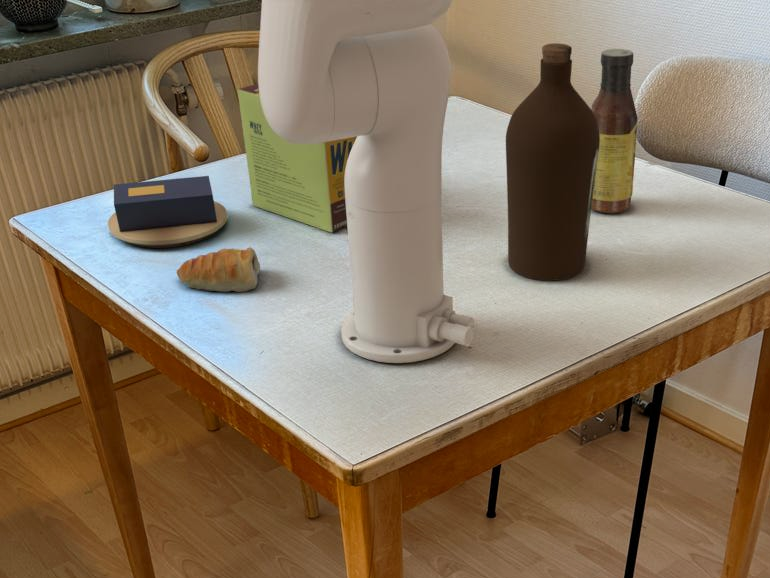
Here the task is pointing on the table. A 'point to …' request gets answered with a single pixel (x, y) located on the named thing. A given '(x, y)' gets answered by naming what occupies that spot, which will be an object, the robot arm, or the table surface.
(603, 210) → the sauce bottle
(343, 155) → the protein box
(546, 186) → the olive oil
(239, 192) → the table surface
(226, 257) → the pastry
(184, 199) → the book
